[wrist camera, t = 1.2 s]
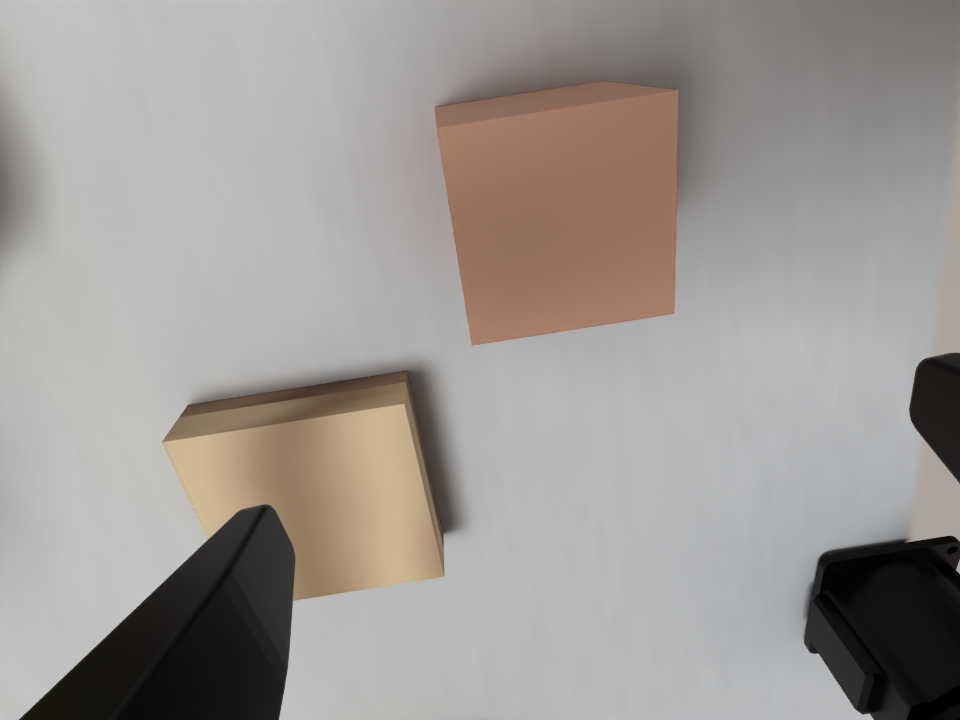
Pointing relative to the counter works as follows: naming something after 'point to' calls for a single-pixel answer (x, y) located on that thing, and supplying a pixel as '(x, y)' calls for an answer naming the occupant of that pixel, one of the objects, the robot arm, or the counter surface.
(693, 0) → the counter surface
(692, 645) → the counter surface
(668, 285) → the block
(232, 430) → the tan square slab
